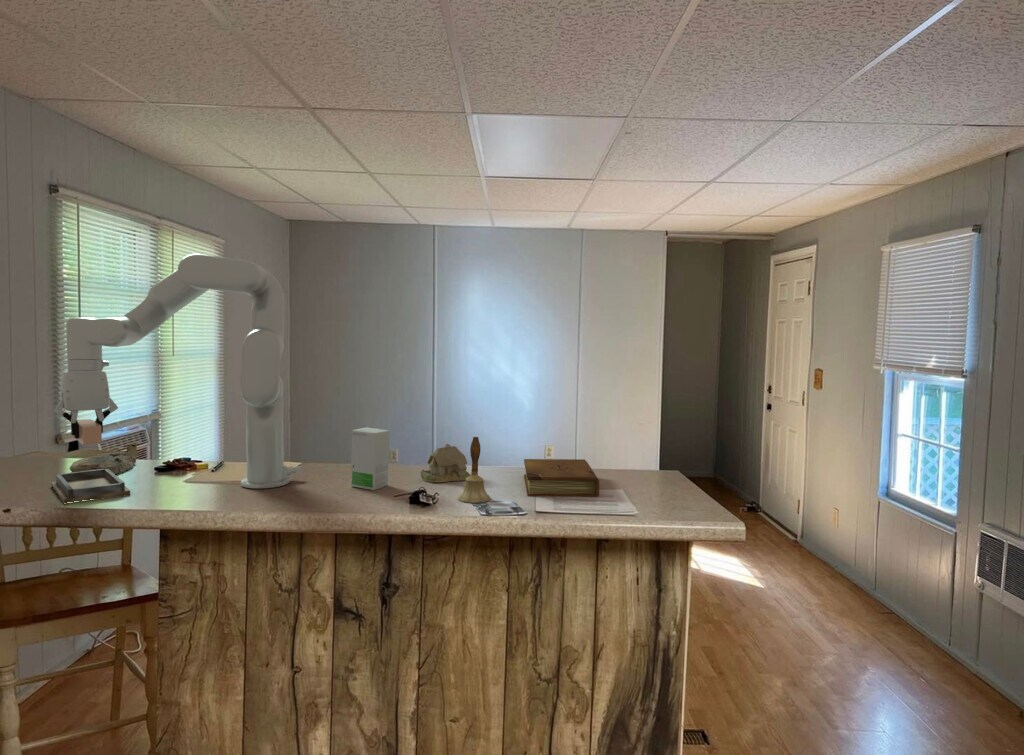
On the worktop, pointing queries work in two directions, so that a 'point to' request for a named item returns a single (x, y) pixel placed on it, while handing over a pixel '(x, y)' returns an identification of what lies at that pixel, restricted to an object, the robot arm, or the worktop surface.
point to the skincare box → (369, 458)
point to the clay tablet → (105, 462)
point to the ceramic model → (446, 465)
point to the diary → (560, 478)
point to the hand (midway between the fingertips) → (87, 436)
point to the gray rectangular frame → (89, 485)
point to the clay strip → (89, 432)
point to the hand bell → (474, 479)
